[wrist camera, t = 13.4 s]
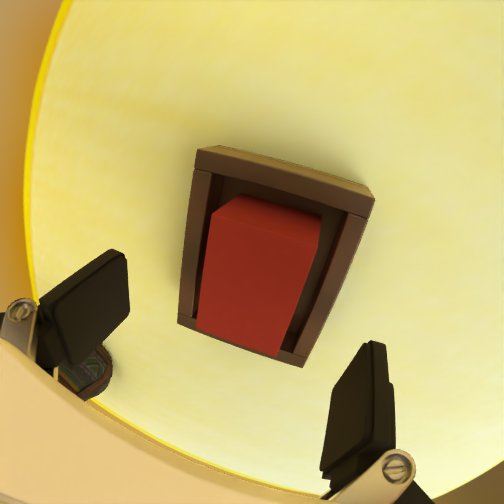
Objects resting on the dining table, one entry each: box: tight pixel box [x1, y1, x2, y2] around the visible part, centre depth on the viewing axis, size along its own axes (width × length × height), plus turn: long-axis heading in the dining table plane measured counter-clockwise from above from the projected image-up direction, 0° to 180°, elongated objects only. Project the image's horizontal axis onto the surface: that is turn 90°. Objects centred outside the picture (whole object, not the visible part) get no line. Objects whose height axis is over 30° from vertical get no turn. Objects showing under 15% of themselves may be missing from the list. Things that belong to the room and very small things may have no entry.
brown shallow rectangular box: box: [177, 145, 375, 368], centre depth 16 cm, size 11×8×3 cm
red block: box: [196, 193, 322, 357], centre depth 15 cm, size 6×4×4 cm
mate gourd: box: [58, 345, 113, 402], centre depth 24 cm, size 7×8×10 cm
